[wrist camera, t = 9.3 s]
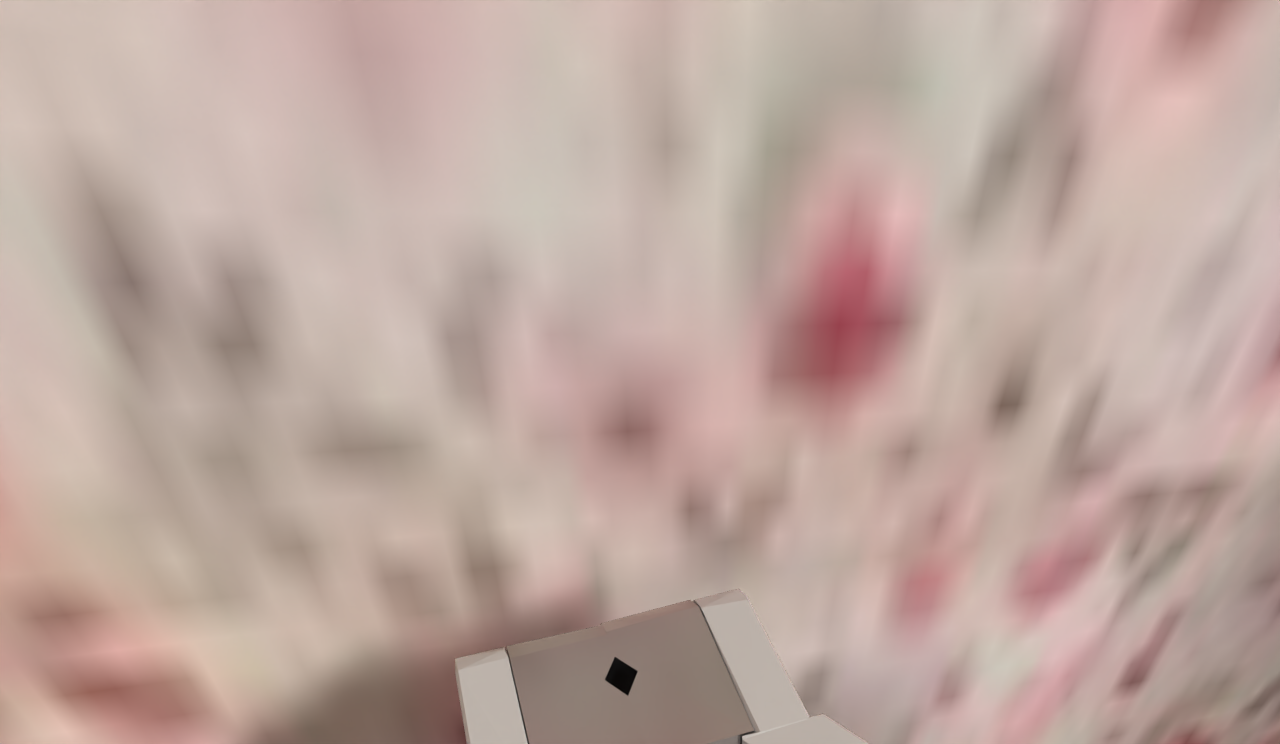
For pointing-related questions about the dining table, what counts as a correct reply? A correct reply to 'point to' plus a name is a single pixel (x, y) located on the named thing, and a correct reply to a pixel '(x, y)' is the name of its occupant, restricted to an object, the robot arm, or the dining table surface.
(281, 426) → the dining table surface
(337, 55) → the dining table surface
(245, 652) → the dining table surface
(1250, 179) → the dining table surface
